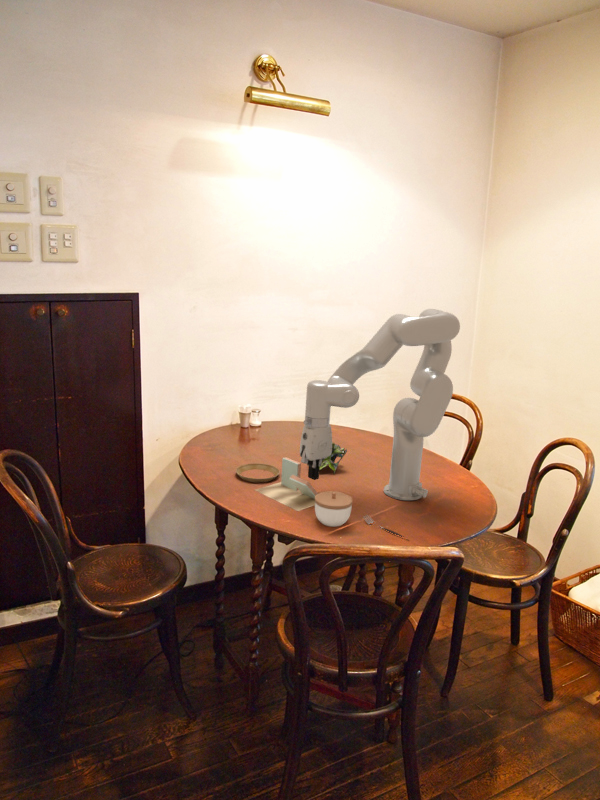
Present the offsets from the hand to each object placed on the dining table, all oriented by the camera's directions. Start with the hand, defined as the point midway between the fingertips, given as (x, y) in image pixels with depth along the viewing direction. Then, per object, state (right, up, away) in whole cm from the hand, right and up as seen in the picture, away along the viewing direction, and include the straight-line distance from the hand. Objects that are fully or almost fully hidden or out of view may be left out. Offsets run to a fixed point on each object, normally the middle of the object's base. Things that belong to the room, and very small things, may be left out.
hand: (313, 478), depth 192 cm
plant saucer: (-19, -2, +17) cm, 25 cm away
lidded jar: (+5, -11, -15) cm, 19 cm away
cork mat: (-7, -6, +2) cm, 9 cm away
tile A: (0, -5, +1) cm, 6 cm away
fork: (+20, -13, -17) cm, 30 cm away
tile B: (-7, -4, +8) cm, 12 cm away
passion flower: (+6, -1, +26) cm, 27 cm away
